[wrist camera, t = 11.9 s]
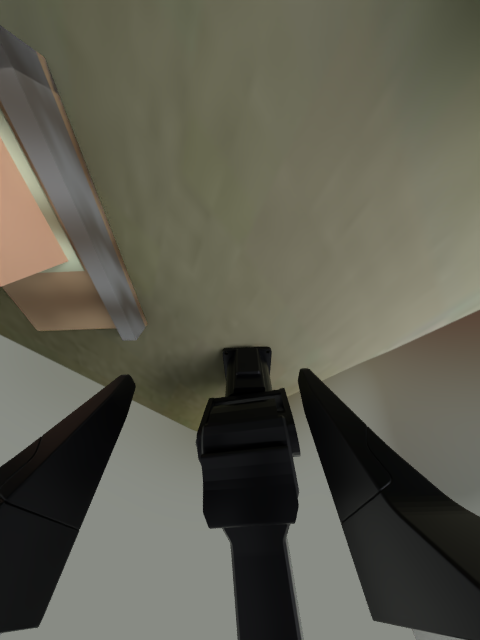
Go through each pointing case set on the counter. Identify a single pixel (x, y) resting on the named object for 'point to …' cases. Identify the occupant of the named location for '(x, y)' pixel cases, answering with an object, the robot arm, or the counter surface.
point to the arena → (61, 207)
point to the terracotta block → (22, 228)
